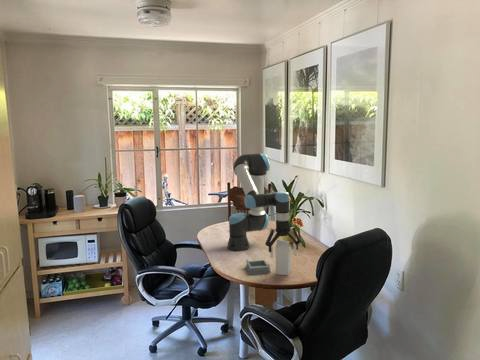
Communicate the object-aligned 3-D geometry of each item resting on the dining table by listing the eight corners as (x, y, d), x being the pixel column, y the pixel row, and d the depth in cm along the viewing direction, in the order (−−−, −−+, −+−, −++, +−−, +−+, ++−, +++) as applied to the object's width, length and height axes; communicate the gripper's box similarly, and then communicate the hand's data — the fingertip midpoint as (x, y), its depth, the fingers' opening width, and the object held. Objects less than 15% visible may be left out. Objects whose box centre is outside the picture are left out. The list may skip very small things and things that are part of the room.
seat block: (245, 266, 228) (245, 258, 227) (265, 264, 230) (265, 257, 229) (250, 274, 216) (249, 266, 215) (270, 272, 218) (270, 264, 218)
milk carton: (288, 275, 213) (287, 243, 210) (275, 274, 216) (275, 241, 213) (291, 271, 220) (290, 239, 217) (279, 269, 222) (278, 238, 219)
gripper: (262, 223, 207) (263, 260, 210) (306, 219, 211) (306, 256, 214) (259, 219, 214) (260, 256, 217) (301, 216, 219) (302, 252, 222)
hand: (283, 256), depth 216 cm, fingers open, 13 cm apart
